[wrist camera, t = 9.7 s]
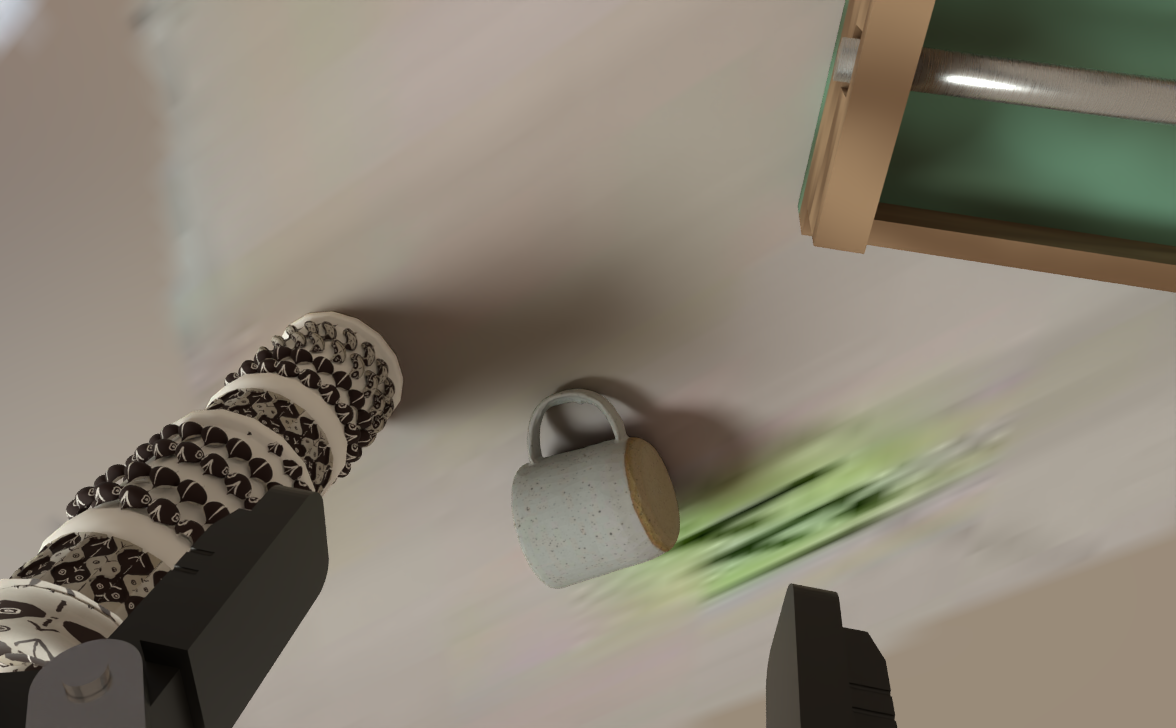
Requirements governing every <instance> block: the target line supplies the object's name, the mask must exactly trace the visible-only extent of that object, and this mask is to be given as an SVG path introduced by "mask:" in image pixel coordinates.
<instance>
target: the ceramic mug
mask: <svg viewBox="0 0 1176 728" xmlns="http://www.w3.org/2000/svg"><path fill="white" fill-rule="evenodd" d="M568 402H576V403H579V404H583V403H586V402H587V403H589V404H594V405H596V406H597V407H598V408H599V409H600V410H601V411H602V412H603V413H604V414H605V416H606V418H607V420H608V421H609V423H610V425H611V427H612V430H613V433H614V435H615V439H613V440H609V441H604V442H602V443H599V444H595V445H591V446H587V447H586V448H582V449H578V450H573V451H570V452H565V453H561V454H558V455H554V456H550V457H545V458H544V457H542V454H541V448H540V425H541V422H542V418H543V416H544V414H545V412H546V410H547V409H549V408H551V407H552V406H555V405H559V404H563V403H568ZM527 447H528V454H529V461H530V463H527V464H525V465H523V466H522V467H521V468H520V469H519V470H518V471H517V473H516V475H515V477H514V481H513V485H512V503H511V506H512V514H513V521H514V526H515V529H516V533H517V537H518V540H519V543H520V546H521V549H522V552H523V554H524V556H525V558H526V560H527V562H528V564H529V566H530V567H531V569H532V571H533V572H534V573H535V575H536V576H537V577H538V578H539V579H540V580H541V581H542V582H543V583H544V584H545V585H547V586H548V587H551V588H555V589H560V588H565V587H567V586H570V585H573V584H576V583H579V582H582V581H586V580H589V579H592V578H595V577H599V576H602V575H605V574H608V573H611V572H614V571H617V570H620V569H623V568H626V567H629V566H634V565H637V564H640V563H643V562H646V561H649V560H651V559H654V558H656V557H658V556H660V555H661V554H663V553H665V552H667V551H669V550H670V549H671V548H672V547H673V546H674V545H675V543H676V541H677V538H678V535H679V530H680V517H679V510H678V504H677V500H676V495H675V492H674V488H673V485H672V482H671V479H670V477H669V474H668V472H667V469H666V467H665V465H664V463H663V461H662V459H661V457H660V456H659V454H658V453H657V451H656V450H655V448H654V447H653V446H652V445H651V444H649V443H648V442H646V441H645V440H643V439H640V438H636V437H628V436H627V435H626V431H625V428H624V423H623V421H622V419H621V417H620V416H619V414H618V413H617V411H616V410H615V408H614V406H613V405H612V404H611V403H610V402H609V401H608V400H607V399H606V398H604V397H603V396H602V395H600V394H598V393H596V392H593V391H590V390H585V389H570V390H565V391H562V392H559V393H556V394H553V395H551V396H549V397H547V398H545V399H544V400H542V402H541V403H540V404H539V405H538V406H537V407H536V409H535V410H534V412H533V415H532V417H531V420H530V423H529V426H528V436H527Z"/></svg>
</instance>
